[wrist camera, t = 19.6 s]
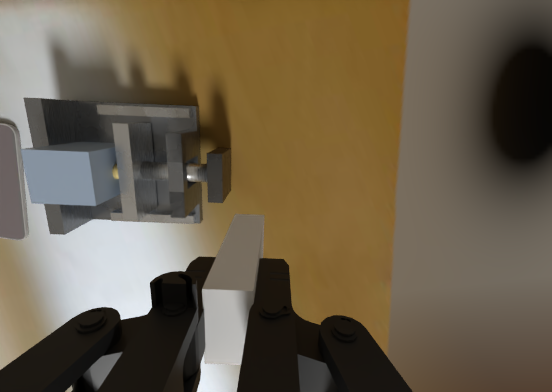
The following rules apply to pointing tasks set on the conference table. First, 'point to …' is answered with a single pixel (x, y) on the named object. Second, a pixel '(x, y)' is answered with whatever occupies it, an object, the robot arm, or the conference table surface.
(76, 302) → the conference table surface
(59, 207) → the press bed
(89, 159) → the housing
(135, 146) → the ram
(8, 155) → the smartphone
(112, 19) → the conference table surface
